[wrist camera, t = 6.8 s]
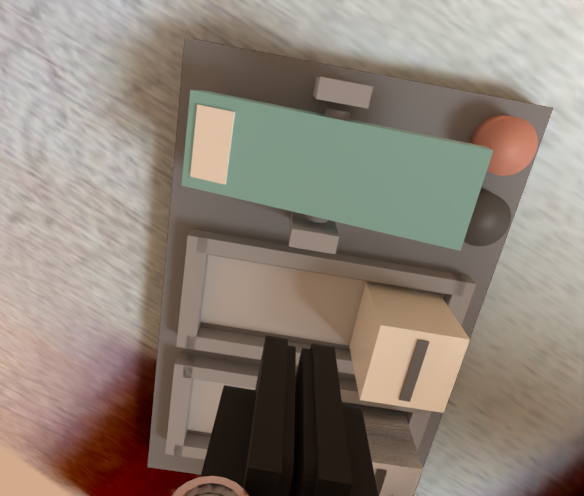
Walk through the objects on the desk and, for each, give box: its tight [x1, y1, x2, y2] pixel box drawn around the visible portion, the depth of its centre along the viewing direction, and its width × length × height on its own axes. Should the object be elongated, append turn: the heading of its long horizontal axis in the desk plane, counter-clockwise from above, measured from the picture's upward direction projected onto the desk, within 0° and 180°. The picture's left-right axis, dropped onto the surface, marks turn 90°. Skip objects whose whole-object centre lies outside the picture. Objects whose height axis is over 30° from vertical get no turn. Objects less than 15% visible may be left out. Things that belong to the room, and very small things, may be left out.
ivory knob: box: [349, 282, 470, 413], centre depth 23 cm, size 4×4×5 cm
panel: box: [148, 37, 553, 475], centre depth 24 cm, size 17×25×6 cm
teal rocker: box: [182, 90, 493, 251], centre depth 19 cm, size 12×5×2 cm, turn 80°
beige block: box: [342, 402, 423, 496], centre depth 25 cm, size 4×4×5 cm
